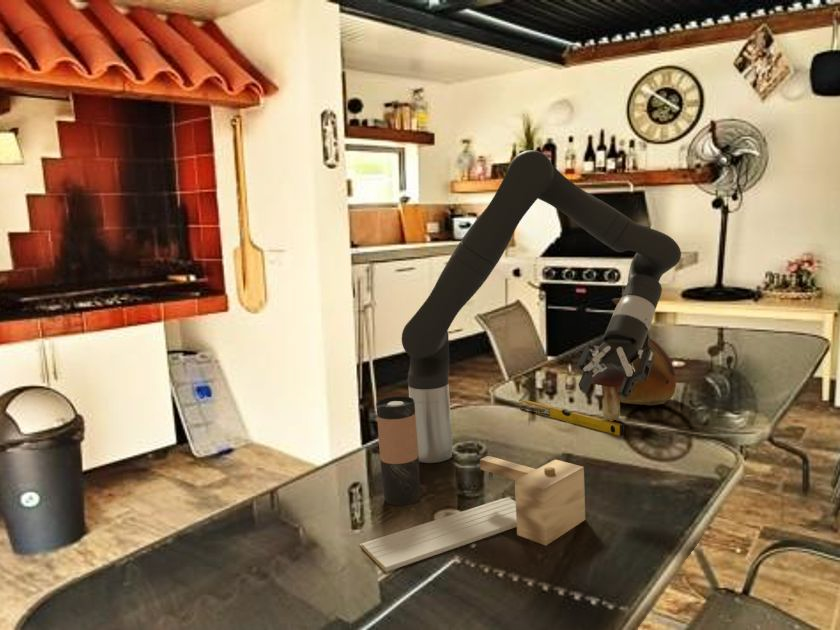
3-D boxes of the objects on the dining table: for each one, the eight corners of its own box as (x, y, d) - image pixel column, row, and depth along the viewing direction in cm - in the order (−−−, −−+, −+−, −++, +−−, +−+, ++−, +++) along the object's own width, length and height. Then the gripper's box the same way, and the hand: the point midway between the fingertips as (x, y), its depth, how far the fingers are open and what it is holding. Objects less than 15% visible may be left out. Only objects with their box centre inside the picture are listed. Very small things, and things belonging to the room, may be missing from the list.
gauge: (465, 515, 125) (462, 460, 123) (506, 494, 133) (503, 442, 131) (545, 545, 112) (543, 484, 110) (585, 520, 120) (583, 462, 119)
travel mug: (427, 492, 136) (421, 397, 133) (411, 508, 129) (404, 408, 126) (394, 488, 139) (387, 394, 136) (376, 503, 132) (368, 405, 129)
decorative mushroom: (642, 422, 170) (642, 364, 167) (609, 430, 165) (607, 371, 163) (612, 411, 180) (611, 357, 177) (580, 419, 175) (578, 363, 173)
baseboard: (356, 545, 118) (386, 576, 107) (355, 530, 117) (384, 559, 107) (501, 499, 132) (539, 522, 122) (500, 485, 132) (539, 507, 121)
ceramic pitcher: (665, 391, 195) (664, 289, 190) (685, 412, 175) (685, 299, 171) (596, 394, 197) (593, 292, 192) (608, 415, 177) (606, 302, 173)
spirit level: (623, 435, 162) (623, 424, 161) (620, 437, 161) (620, 425, 161) (523, 408, 188) (522, 398, 188) (519, 409, 188) (519, 399, 187)
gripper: (590, 311, 136) (561, 380, 131) (656, 314, 126) (627, 388, 120) (606, 331, 141) (579, 399, 135) (671, 336, 130) (644, 409, 124)
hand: (602, 394), depth 128 cm, fingers open, 8 cm apart
